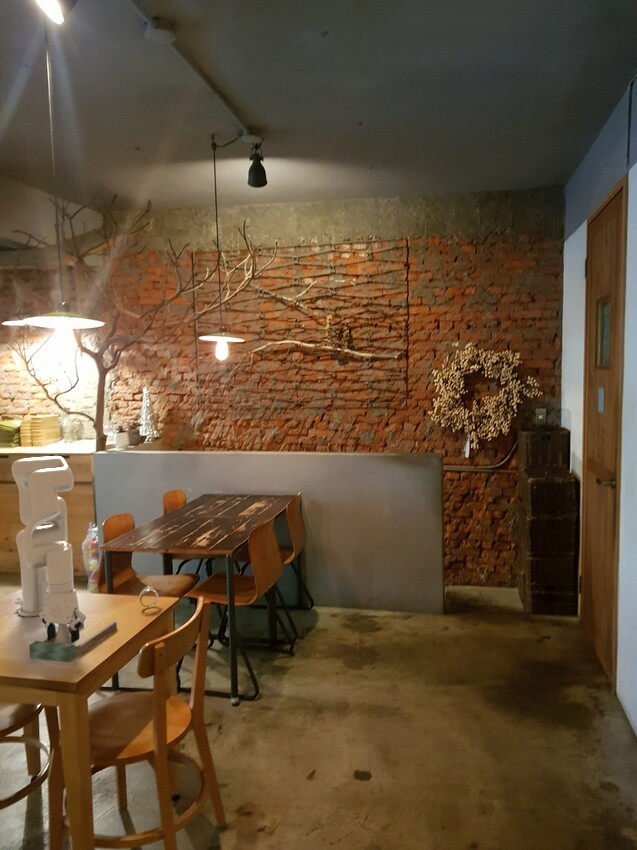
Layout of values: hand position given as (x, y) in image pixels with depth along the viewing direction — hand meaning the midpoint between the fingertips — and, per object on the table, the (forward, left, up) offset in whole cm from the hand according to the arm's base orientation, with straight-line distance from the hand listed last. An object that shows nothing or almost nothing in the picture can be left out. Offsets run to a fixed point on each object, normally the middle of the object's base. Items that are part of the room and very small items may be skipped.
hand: (63, 639), depth 191 cm
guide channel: (0, +6, -4) cm, 7 cm away
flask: (0, 0, -4) cm, 4 cm away
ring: (+8, +38, -4) cm, 39 cm away
